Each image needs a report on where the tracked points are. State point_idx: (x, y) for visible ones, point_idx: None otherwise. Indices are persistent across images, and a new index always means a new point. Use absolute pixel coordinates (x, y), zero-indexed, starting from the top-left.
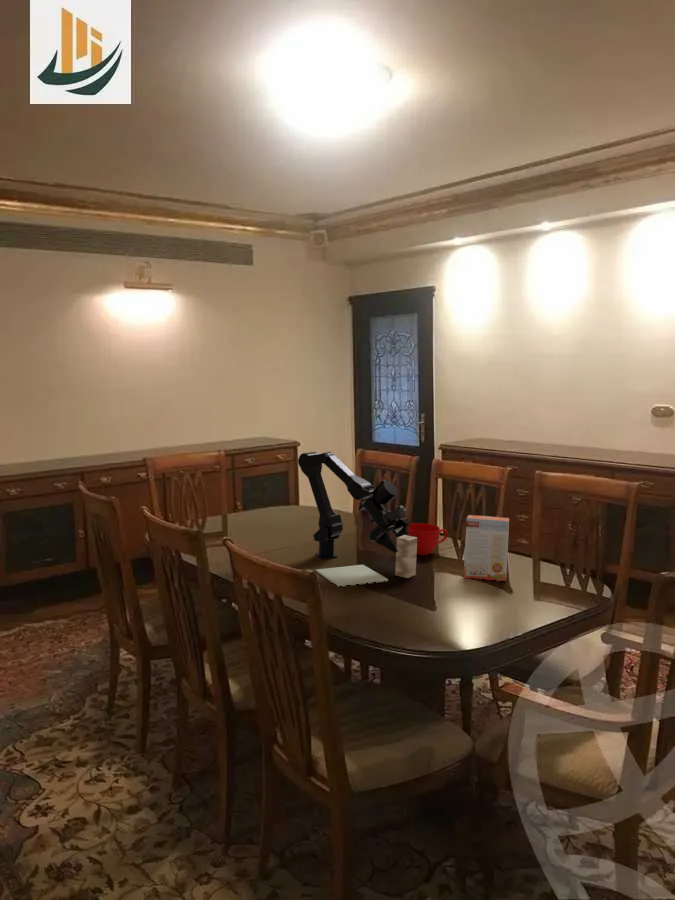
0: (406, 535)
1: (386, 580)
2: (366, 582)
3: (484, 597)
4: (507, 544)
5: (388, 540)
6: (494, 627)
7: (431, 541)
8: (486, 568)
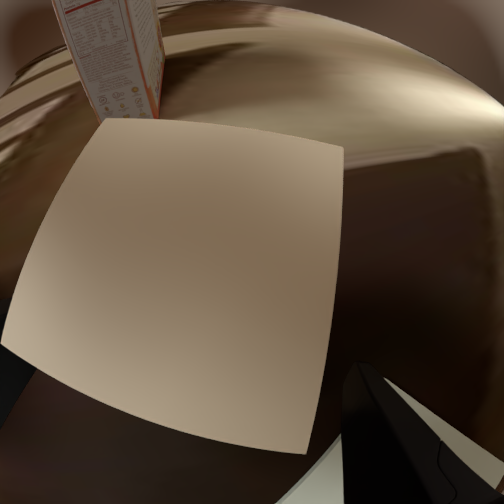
0: (14, 302)
1: (389, 381)
2: (455, 430)
3: (318, 68)
4: None
5: (466, 480)
6: (443, 76)
7: None
8: (157, 51)
